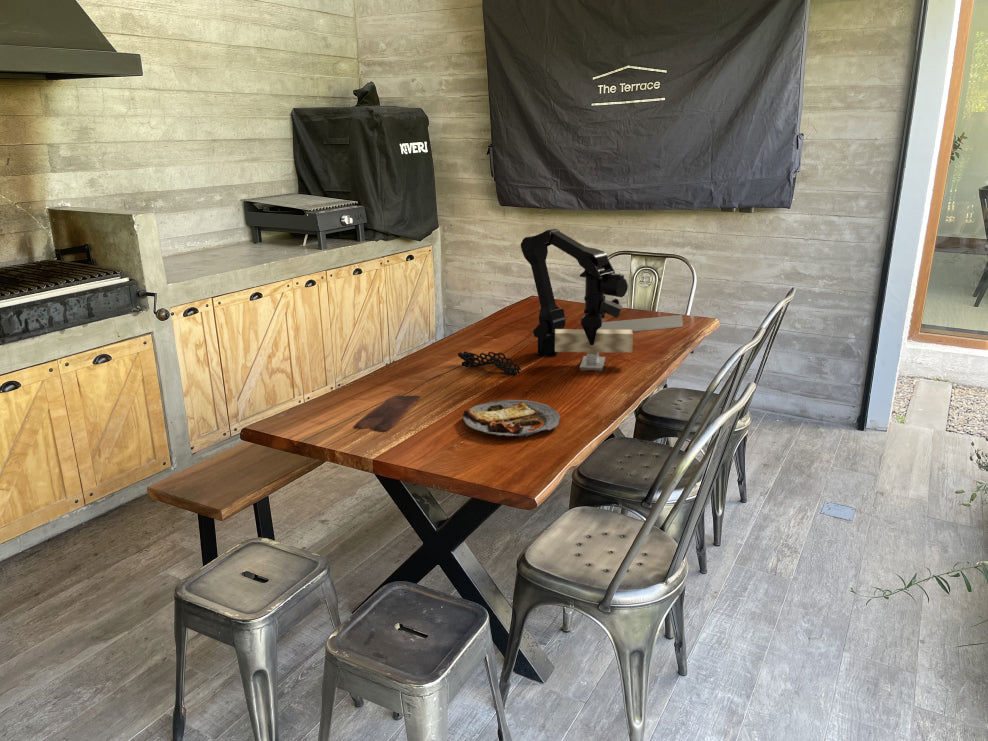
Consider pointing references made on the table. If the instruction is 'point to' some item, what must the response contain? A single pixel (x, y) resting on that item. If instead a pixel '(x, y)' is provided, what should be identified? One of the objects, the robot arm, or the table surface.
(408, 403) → the wooden tablet
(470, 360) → the decorative element
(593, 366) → the ridge
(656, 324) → the decorative molding
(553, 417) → the food plate
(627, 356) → the table surface
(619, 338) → the maple beam
